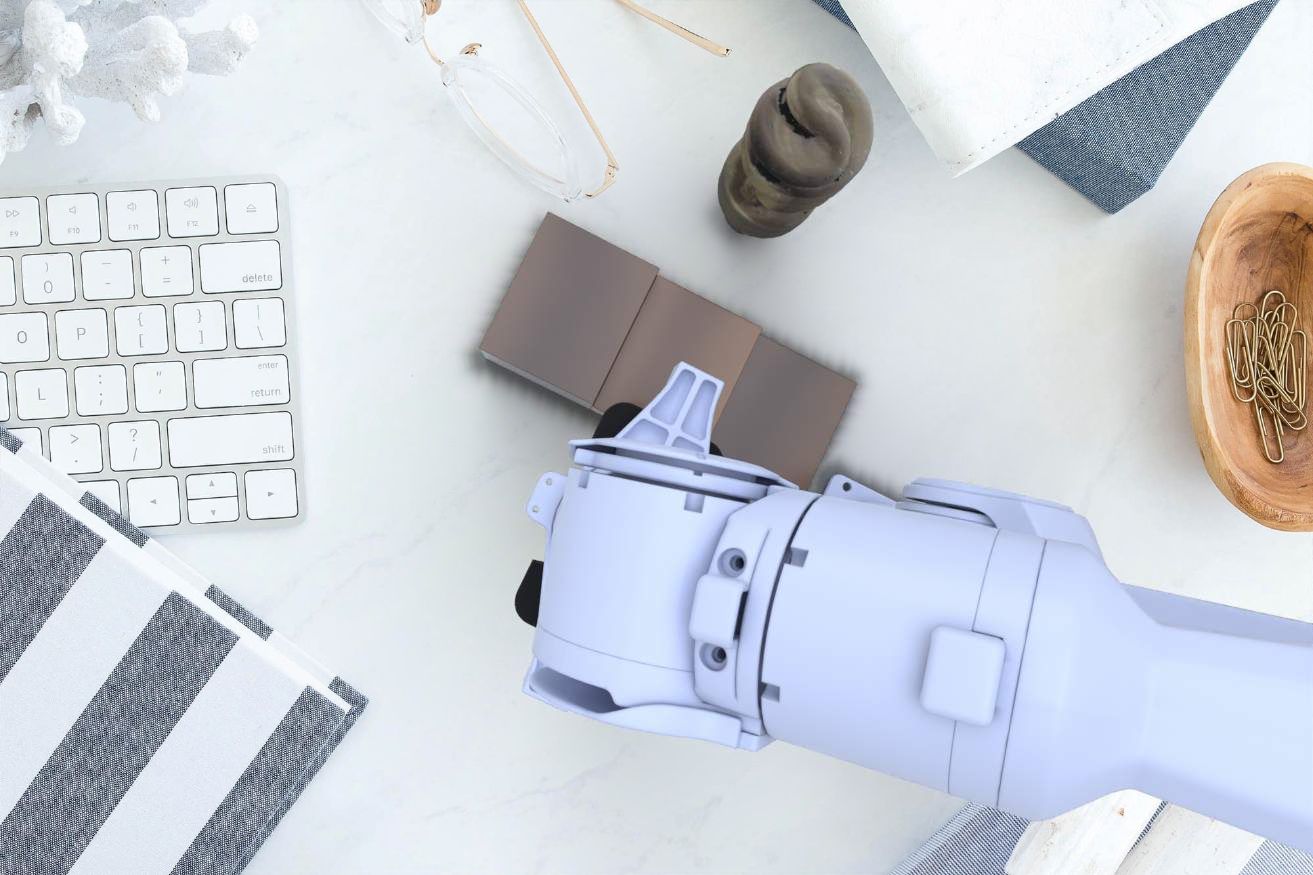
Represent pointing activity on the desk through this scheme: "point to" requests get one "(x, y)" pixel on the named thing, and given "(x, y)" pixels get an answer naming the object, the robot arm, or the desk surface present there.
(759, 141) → the brown carved figurine
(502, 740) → the desk surface
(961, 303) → the desk surface
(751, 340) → the steps
